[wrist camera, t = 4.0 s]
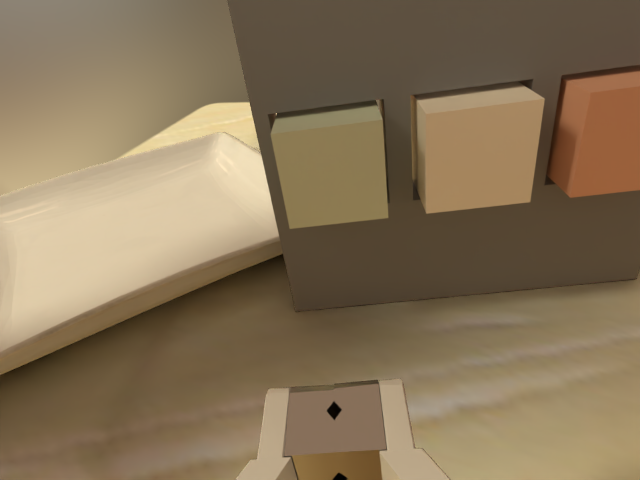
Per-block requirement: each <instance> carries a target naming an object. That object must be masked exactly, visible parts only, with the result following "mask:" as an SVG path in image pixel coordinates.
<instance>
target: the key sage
mask: <svg viewBox="0 0 640 480" xmlns="http://www.w3.org/2000/svg"><path fill="white" fill-rule="evenodd" d="M271 139H272V144H273V149H274V154H275V159H276V164H277V169H278V173H279V178H280V183H281V188H282V193H283V198H284V203H285V208H286V213H287V218H288V223H289V228H290V229H294V228H303V227H312V226H321V225H330V224H339V223H348V222H357V221H366V220H375V219H384V218H388V203H387V186H386V169H385V151H384V134H383V119H382V116H381V114H380V111H379V108H378V105H377V103H376V100H371V101H363V102H356V103H348V104H341V105H333V106H326V107H318V108H311V109H303V110H296V111H288V112H281V113H277V115H276V118H275V122H274V125H273V128H272V131H271Z"/></svg>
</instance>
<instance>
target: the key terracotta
mask: <svg viewBox="0 0 640 480" xmlns="http://www.w3.org/2000/svg"><path fill="white" fill-rule="evenodd" d="M546 175H547V176H548V177H549V178H550V179H551V180H552V181H553V182H554V183H556V184H557V185H558V186H559V187H560V188H561V189H562V190H563V191H564V192H565V193H566V194H567V195H568V196H569V197H570V198H572V197H581V196H590V195H599V194H608V193H617V192H626V191H635V190H640V65H633V66H626V67H618V68H611V69H603V70H596V71H588V72H581V73H573V74H566V75H562V76H561V83H560V89H559V95H558V102H557V108H556V114H555V121H554V127H553V134H552V140H551V146H550V153H549V159H548V165H547V172H546Z"/></svg>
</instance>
